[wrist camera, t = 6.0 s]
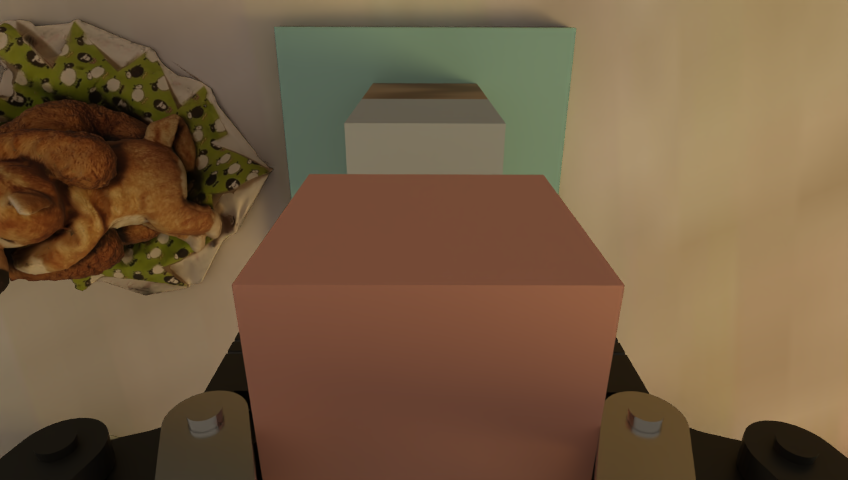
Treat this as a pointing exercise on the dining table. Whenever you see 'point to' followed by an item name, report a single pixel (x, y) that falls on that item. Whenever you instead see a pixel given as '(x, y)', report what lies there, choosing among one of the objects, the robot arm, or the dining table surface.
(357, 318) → the red brick
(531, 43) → the baseplate
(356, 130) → the slate brick
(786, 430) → the robot arm
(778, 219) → the dining table surface
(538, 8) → the dining table surface
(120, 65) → the bear figurine
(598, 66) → the dining table surface
